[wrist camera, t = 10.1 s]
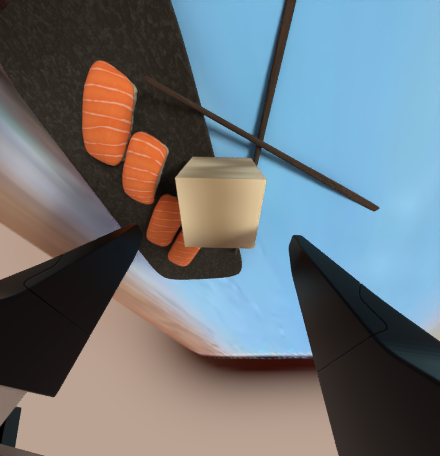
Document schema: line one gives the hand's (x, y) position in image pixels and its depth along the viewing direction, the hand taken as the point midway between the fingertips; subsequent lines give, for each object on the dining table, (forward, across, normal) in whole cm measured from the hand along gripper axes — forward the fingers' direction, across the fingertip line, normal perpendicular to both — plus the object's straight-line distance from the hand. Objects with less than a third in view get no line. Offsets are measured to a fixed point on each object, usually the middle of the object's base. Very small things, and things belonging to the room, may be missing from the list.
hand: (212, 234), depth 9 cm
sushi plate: (+10, 0, 0) cm, 10 cm away
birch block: (+7, 0, 0) cm, 7 cm away
